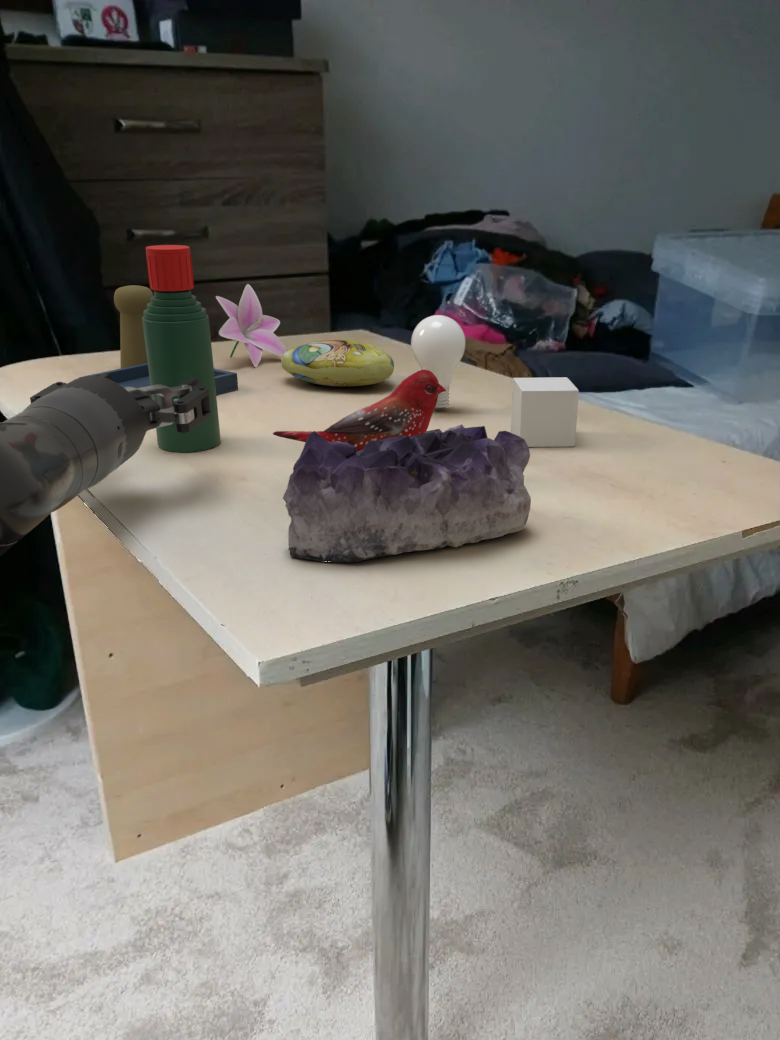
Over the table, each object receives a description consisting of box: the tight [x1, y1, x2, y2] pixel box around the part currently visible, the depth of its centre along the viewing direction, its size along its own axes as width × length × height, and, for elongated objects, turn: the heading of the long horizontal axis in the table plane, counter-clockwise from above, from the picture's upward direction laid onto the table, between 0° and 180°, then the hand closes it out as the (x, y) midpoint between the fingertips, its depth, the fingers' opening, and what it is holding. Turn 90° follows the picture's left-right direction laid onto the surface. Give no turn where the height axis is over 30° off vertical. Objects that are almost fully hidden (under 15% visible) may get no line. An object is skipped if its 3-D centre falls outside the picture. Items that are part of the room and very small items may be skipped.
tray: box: [78, 363, 239, 398], centre depth 119 cm, size 14×14×2 cm
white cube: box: [510, 376, 580, 448], centre depth 101 cm, size 6×6×6 cm
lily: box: [215, 283, 287, 368], centre depth 135 cm, size 12×12×10 cm
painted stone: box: [280, 339, 395, 388], centre depth 123 cm, size 11×8×15 cm
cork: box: [113, 284, 154, 369], centre depth 128 cm, size 6×6×11 cm
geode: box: [282, 423, 532, 564], centre depth 75 cm, size 20×12×10 cm, turn 119°
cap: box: [145, 244, 195, 291], centre depth 91 cm, size 4×4×4 cm
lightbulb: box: [410, 314, 467, 412], centre depth 110 cm, size 6×6×11 cm
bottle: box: [142, 289, 222, 453], centre depth 95 cm, size 6×6×19 cm
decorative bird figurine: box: [272, 369, 446, 452], centre depth 86 cm, size 3×18×10 cm, turn 122°
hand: (152, 386), depth 89 cm, fingers open, 8 cm apart
